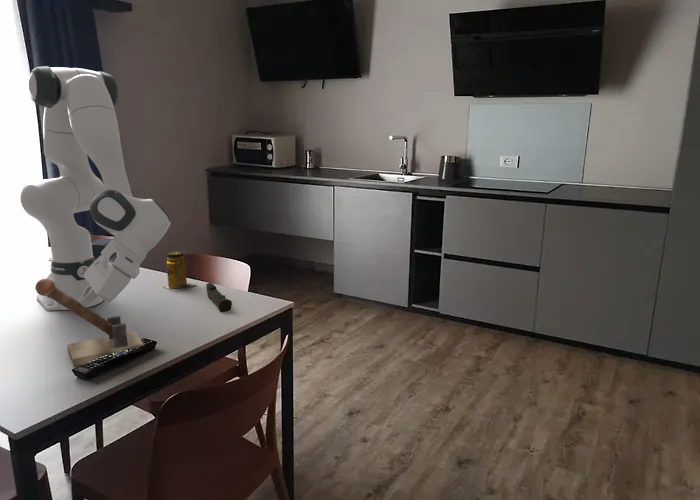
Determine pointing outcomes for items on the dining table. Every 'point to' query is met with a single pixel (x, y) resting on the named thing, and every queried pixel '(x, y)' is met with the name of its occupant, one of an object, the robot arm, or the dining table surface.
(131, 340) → the press base
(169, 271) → the condiment
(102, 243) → the small box
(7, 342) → the dining table surface
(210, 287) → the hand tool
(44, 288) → the lever
